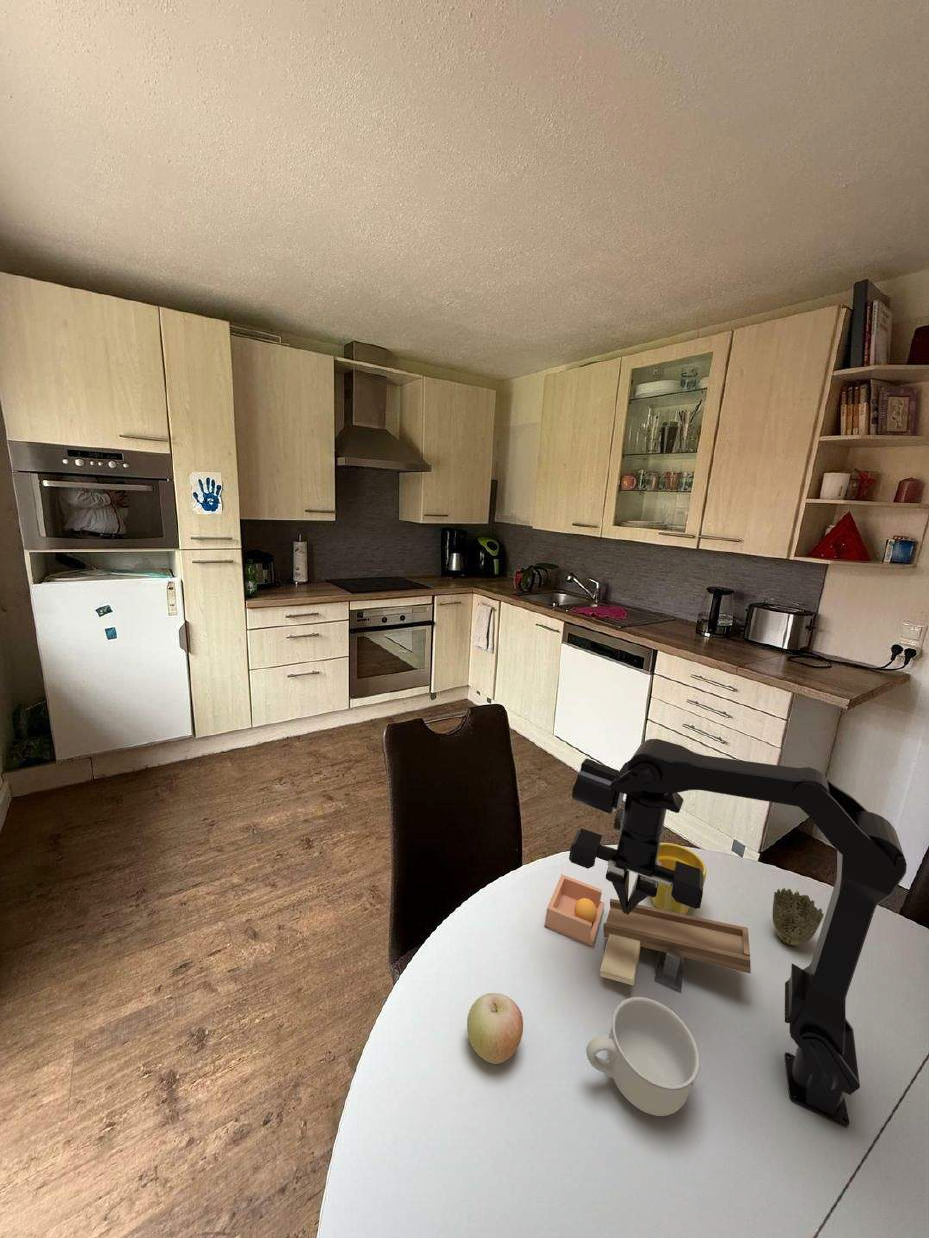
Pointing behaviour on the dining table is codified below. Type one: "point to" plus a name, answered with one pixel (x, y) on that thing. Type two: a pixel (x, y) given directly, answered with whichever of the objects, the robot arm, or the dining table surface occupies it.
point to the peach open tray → (563, 914)
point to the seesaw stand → (669, 969)
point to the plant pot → (668, 858)
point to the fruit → (495, 1027)
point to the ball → (585, 909)
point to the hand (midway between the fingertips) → (626, 911)
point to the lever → (669, 940)
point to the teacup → (648, 1056)
